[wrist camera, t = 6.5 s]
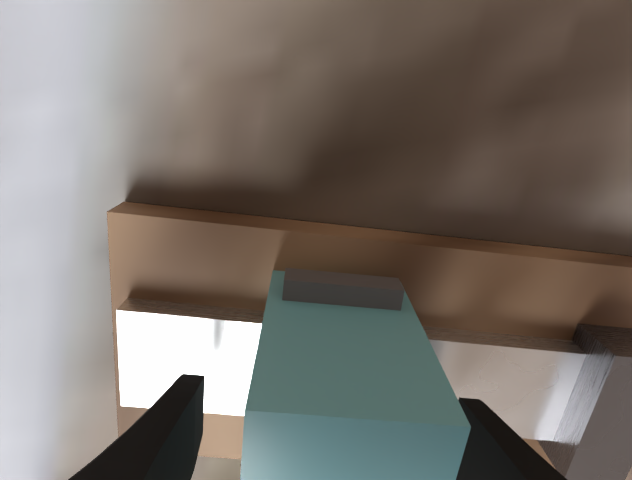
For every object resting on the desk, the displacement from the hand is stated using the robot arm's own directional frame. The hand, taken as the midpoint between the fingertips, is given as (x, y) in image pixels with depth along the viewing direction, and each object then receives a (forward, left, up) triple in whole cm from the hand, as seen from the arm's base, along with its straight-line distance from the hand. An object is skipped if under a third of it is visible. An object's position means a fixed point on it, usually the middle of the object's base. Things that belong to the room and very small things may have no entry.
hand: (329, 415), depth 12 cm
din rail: (-2, 0, -2) cm, 3 cm away
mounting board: (-2, 0, -4) cm, 4 cm away
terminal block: (0, 0, -2) cm, 2 cm away
